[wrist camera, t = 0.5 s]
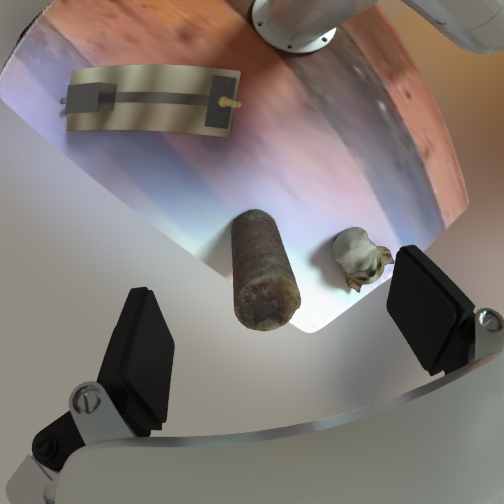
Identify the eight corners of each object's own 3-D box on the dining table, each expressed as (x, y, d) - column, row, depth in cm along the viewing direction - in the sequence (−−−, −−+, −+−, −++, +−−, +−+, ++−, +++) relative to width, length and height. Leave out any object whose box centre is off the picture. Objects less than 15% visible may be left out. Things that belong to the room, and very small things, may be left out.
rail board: (71, 129, 33) (66, 131, 32) (77, 70, 29) (72, 70, 27) (229, 136, 38) (229, 138, 36) (240, 72, 33) (241, 71, 32)
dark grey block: (60, 113, 30) (39, 116, 25) (63, 89, 28) (42, 89, 23) (113, 110, 32) (96, 112, 27) (117, 84, 30) (100, 82, 25)
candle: (220, 228, 45) (219, 311, 28) (252, 196, 43) (272, 266, 25) (253, 255, 48) (270, 343, 31) (284, 226, 46) (320, 306, 29)
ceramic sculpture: (380, 229, 38) (411, 278, 45) (355, 205, 45) (389, 252, 52) (327, 274, 41) (368, 314, 48) (310, 245, 48) (351, 285, 55)
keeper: (206, 124, 35) (203, 127, 30) (214, 77, 32) (212, 72, 27) (235, 128, 36) (236, 131, 31) (243, 81, 32) (246, 77, 28)
